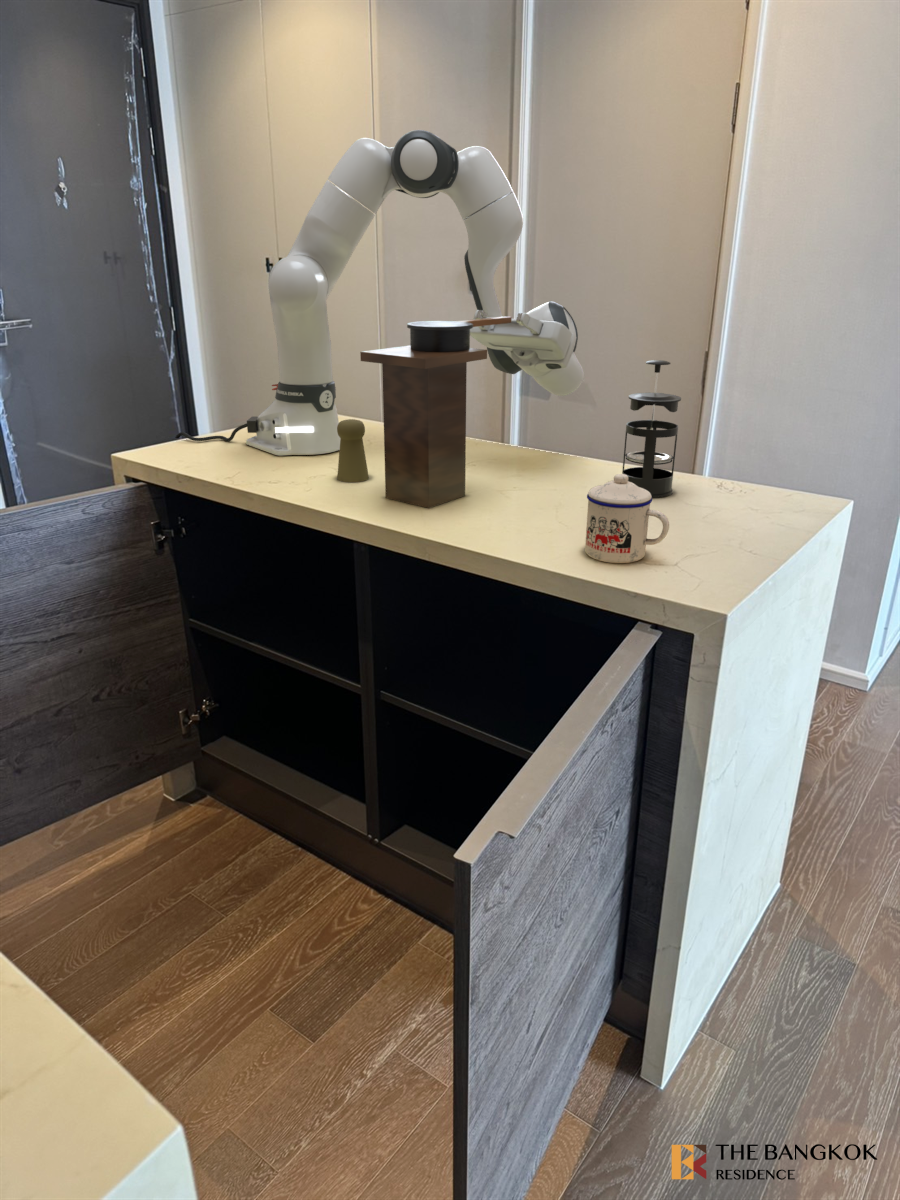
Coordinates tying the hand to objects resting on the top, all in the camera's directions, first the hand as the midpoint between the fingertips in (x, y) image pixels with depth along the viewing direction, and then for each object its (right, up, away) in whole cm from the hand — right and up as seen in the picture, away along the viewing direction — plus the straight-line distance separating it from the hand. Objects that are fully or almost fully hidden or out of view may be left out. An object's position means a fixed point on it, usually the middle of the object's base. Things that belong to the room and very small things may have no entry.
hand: (498, 315), depth 156 cm
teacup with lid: (+16, -45, -31) cm, 57 cm away
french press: (+27, -32, +1) cm, 42 cm away
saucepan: (-6, -7, -5) cm, 11 cm away
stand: (-13, -33, -3) cm, 36 cm away
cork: (-27, -28, +8) cm, 40 cm away
